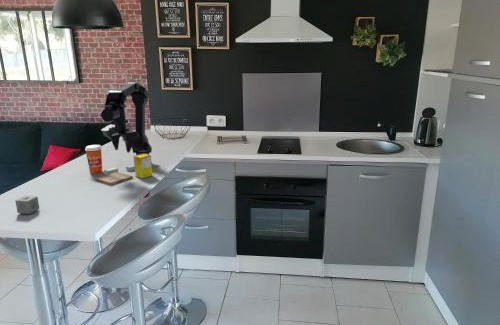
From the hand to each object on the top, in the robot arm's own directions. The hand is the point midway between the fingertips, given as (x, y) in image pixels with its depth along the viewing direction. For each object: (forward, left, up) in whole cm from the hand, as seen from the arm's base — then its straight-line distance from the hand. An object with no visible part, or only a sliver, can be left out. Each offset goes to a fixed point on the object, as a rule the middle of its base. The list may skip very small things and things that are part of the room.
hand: (122, 151), depth 171 cm
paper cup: (+3, -18, -13) cm, 23 cm away
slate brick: (-10, -6, -13) cm, 18 cm away
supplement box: (-6, +7, -13) cm, 16 cm away
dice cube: (+46, +4, -14) cm, 48 cm away
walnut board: (+5, -1, -13) cm, 14 cm away
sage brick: (0, -10, -13) cm, 17 cm away
